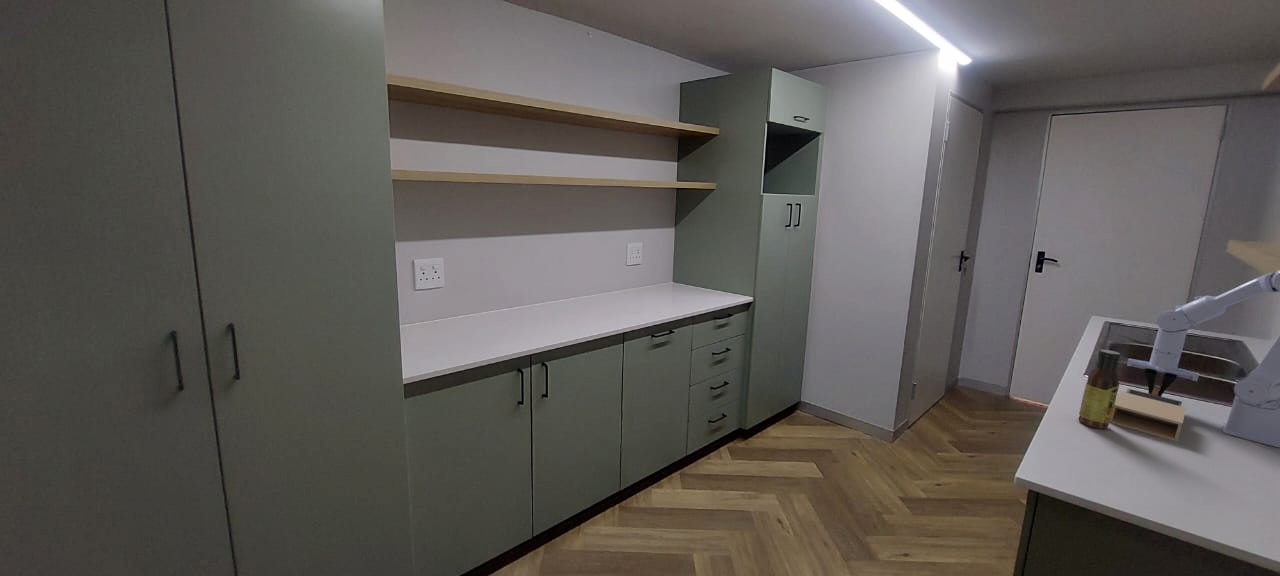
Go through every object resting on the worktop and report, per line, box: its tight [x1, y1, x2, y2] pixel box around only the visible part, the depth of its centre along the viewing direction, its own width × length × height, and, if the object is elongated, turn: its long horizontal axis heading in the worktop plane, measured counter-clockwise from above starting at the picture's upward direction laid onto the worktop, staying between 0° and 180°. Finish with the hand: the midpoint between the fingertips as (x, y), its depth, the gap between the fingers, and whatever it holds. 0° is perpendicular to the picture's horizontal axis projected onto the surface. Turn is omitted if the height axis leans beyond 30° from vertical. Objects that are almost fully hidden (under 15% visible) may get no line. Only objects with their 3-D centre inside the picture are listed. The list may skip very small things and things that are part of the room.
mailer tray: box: [1119, 384, 1183, 427], centre depth 146 cm, size 20×11×4 cm, turn 132°
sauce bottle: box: [1078, 349, 1121, 429], centre depth 135 cm, size 7×6×20 cm
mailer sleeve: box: [1109, 391, 1187, 443], centre depth 138 cm, size 15×13×5 cm
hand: (1154, 396), depth 152 cm, fingers closed on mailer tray
